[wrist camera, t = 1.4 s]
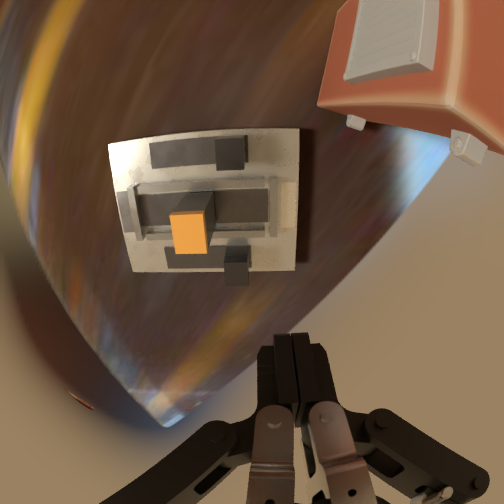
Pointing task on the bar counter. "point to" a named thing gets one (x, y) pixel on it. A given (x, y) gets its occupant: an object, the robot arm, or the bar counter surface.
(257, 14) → the bar counter surface
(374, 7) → the orange rectangular box
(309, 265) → the bar counter surface
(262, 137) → the breaker board
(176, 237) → the block
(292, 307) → the bar counter surface
